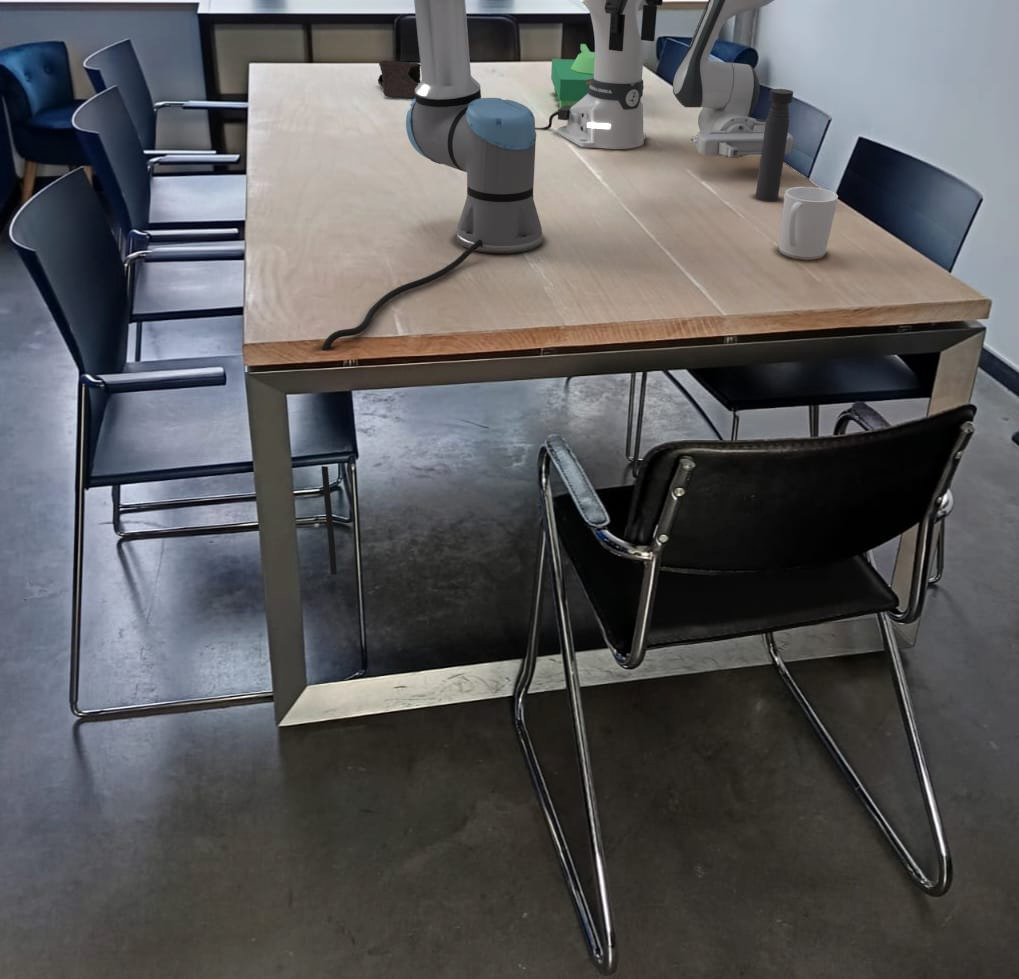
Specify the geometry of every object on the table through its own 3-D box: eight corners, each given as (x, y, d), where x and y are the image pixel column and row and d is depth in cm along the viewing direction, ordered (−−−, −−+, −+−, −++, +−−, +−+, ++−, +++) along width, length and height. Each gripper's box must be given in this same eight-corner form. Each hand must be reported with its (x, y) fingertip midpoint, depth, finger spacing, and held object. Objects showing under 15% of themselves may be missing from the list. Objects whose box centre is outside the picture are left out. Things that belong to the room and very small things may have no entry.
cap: (766, 101, 211) (767, 91, 210) (772, 97, 214) (774, 87, 213) (788, 104, 209) (790, 94, 208) (794, 100, 212) (795, 90, 211)
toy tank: (613, 40, 304) (631, 65, 274) (610, 86, 310) (627, 115, 281) (550, 39, 303) (561, 63, 273) (548, 85, 309) (558, 114, 280)
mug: (790, 240, 199) (799, 183, 193) (836, 251, 194) (846, 193, 188) (761, 255, 191) (769, 197, 186) (808, 267, 186) (818, 208, 181)
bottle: (752, 199, 221) (767, 94, 210) (758, 193, 224) (773, 89, 213) (774, 202, 219) (790, 96, 208) (780, 196, 222) (796, 92, 212)
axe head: (443, 87, 294) (392, 77, 287) (436, 115, 299) (385, 106, 292) (421, 62, 307) (371, 52, 300) (414, 89, 311) (365, 80, 304)
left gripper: (627, -70, 194) (619, 57, 205) (686, -79, 212) (676, 38, 223) (590, -73, 197) (584, 52, 209) (652, -81, 215) (643, 34, 226)
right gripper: (689, 121, 235) (709, 138, 223) (780, 120, 237) (804, 136, 226) (686, 151, 238) (705, 169, 226) (776, 150, 241) (799, 167, 229)
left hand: (631, 45), depth 216 cm, fingers open, 13 cm apart
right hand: (755, 152), depth 226 cm, fingers open, 8 cm apart
